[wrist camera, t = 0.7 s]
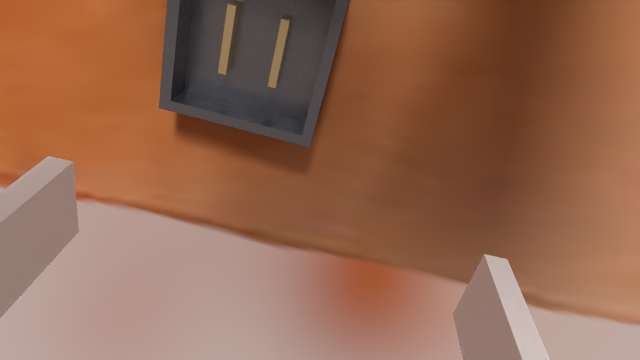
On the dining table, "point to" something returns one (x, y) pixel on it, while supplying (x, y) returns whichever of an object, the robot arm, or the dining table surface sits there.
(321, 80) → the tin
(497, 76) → the dining table surface
